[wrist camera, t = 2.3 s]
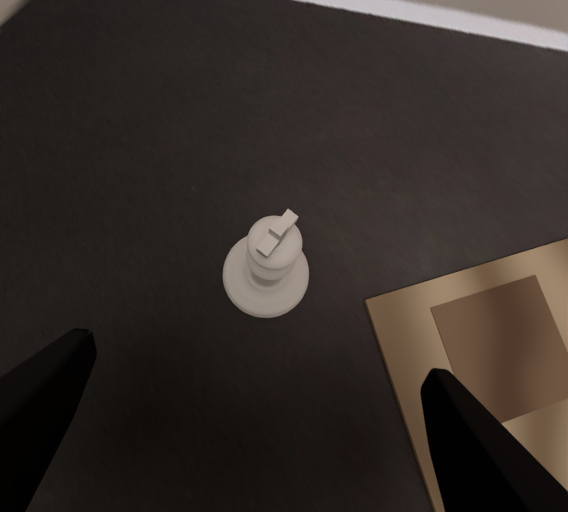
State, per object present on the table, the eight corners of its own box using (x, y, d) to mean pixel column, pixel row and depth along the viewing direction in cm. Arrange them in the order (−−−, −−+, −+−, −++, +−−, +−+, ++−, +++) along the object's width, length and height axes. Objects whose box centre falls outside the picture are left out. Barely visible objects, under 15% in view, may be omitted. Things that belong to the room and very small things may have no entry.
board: (478, 647, 18) (484, 656, 18) (363, 300, 21) (366, 299, 21) (701, 543, 20) (712, 548, 20) (567, 238, 23) (574, 236, 23)
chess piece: (204, 282, 21) (162, 240, 11) (258, 216, 22) (264, 124, 12) (274, 335, 20) (296, 342, 11) (325, 266, 21) (387, 214, 12)
